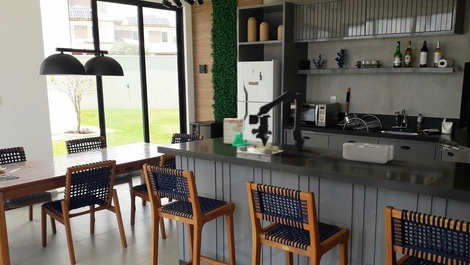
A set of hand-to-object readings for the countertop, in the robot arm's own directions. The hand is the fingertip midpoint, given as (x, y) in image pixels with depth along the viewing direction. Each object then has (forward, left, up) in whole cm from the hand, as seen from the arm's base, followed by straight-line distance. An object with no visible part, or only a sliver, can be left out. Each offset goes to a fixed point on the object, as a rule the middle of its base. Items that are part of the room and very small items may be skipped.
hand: (264, 146), depth 277 cm
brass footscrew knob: (-2, +1, -2) cm, 3 cm away
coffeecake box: (+40, -21, -4) cm, 45 cm away
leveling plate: (0, +6, -3) cm, 7 cm away
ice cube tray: (-66, -9, -4) cm, 67 cm away
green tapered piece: (+26, -11, -4) cm, 28 cm away
